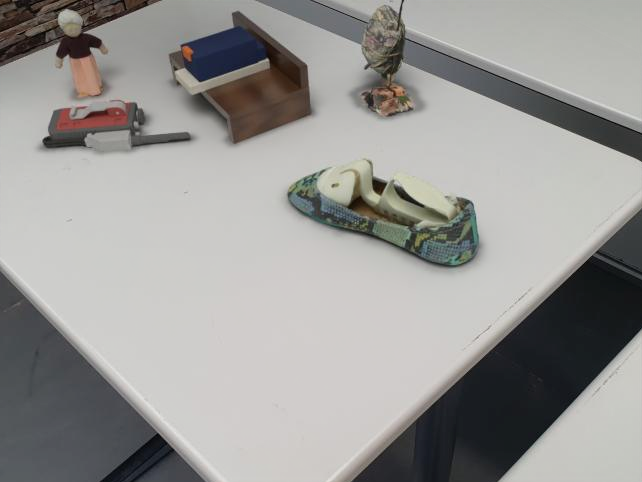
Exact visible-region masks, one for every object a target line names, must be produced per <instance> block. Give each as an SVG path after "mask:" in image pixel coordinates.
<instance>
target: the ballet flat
mask: <svg viewBox="0 0 642 482" xmlns="http://www.w3.org/2000/svg"><path fill="white" fill-rule="evenodd" d="M395 182H397V183H399V185H398V184H397V183H395ZM286 194H287V198H288V200H289V201H290V203H291V204H292V205H293V206H294V207H295V208H297V209H298V210H299V211H301V212H302V213H304V214H305V215H306V216H308V217H310V218H312V219H314V220H316V221H318V222H320V223H323V224H326V225H330V226H334V227H339V228H344V229H349V230H352V231H353V230H354V231H357V232H362V233H365V234H368V235H372V236H373V237H374V236H375V237H378V238H381V239H383V240H385V241H387V242H390V243H392V244H393V245H397V246H399V247H400V248H403V249H405V250H407V251H408V252H410V253H413V254H414V255H416V256H418V257H421V258H422V259H425V260H427V261H429V262H432V263H437V264H441V265H445V266H459V265H462V264H464V263H466V262H467V261H469V260H471V259H472V258H473V257H474V256H475V255H476V253H477V251H478V249H479V245H480V244H479V243H480V236H479V232H478V224H477V213H476V210H475V205H474V203H473V201H472V200H470V199H467V198H465V197H461V196H460V197H459V196H458V195H457V193H451V194H450V195H444V194H443V193H442V191H440V190H439V188H436V186H434V185H432V184H431V183H429V182H428V181H426V180H424V179H422V178H419V177H415V176H412V175H408V174H405V173H403V172H400V171H399V172H398V171H397V172H396V173H394V174H393V175H392V176H391V177H390V179H389V180H385V179H382V178H379V177H377V176H375V175H374V163H373V161H372V159H371V158H369V157H364V158H360V159H355V160H353V161H351V162H349V163H347V164H342V165H341V164H339V165H338V164H337V165H335V166H328V167H326V168H325V167H324V168H323V169H321V170H320V171H317V172H314V173H311V174H308V175H306V176H304V177H302V178H300V179H299V180H297V181H295V182H293V183H292V184H291V186H289V188H288V189H287V193H286Z"/></svg>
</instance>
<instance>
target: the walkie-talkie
mask: <svg viewBox="0 0 642 482" xmlns="http://www.w3.org/2000/svg"><path fill="white" fill-rule="evenodd" d="M138 106H139V105H138V103H137V102H135V101H131V102H125V101H123V100H122V99H112V100H111V99H110V100H109V101H107V100H99V101H92V102H91V103H90V104H89V105H84V106H76V105H72V106H71V107H63V108H58V109H54V110H53V112H52V113H51V114H52V115H51V118H50V121H49V123H48V126H47V132H48V136H45V137H43V138H42V140H41V142H42V143H43V146H44V147H48V148H49V147H57V148H59V147H68V146H69V147H70V146H79V145H80V146H82V145H83V146H86V148H94V149H95V150H98V151H101V152H112V151H123V150H124V151H131V150H132V147H134V146H142V145H145V144H157V143H165V142H166V143H168V142H170V140H181V139H189V138H191V134H190V133H189V132H188V131H181V132H170V133H169V132H168V133H159V134H148V135H147V134H146V135H141V134H142V133H141V132H140V131H138V130H139V129H140V124H141V125H144V124H145V122H146V118H145V112H144V110H143V108H142V107H140V108H139V107H138Z"/></svg>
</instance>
